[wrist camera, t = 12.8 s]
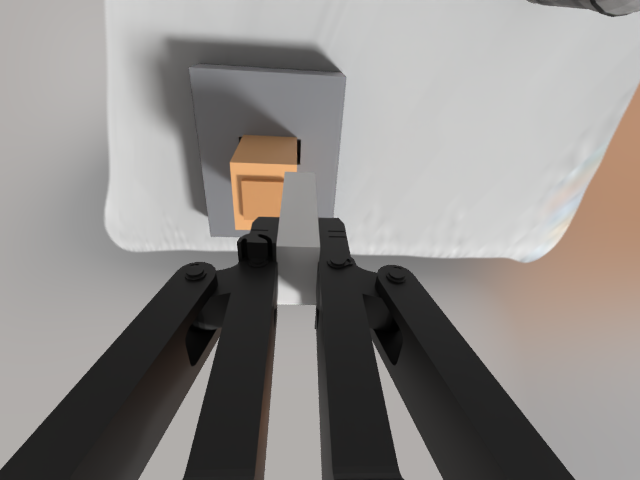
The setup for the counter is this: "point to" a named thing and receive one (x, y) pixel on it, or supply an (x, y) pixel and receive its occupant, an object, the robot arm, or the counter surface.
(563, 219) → the counter surface
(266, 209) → the plug
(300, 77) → the socket
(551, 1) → the beverage cup
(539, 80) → the counter surface
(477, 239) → the counter surface
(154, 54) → the counter surface
